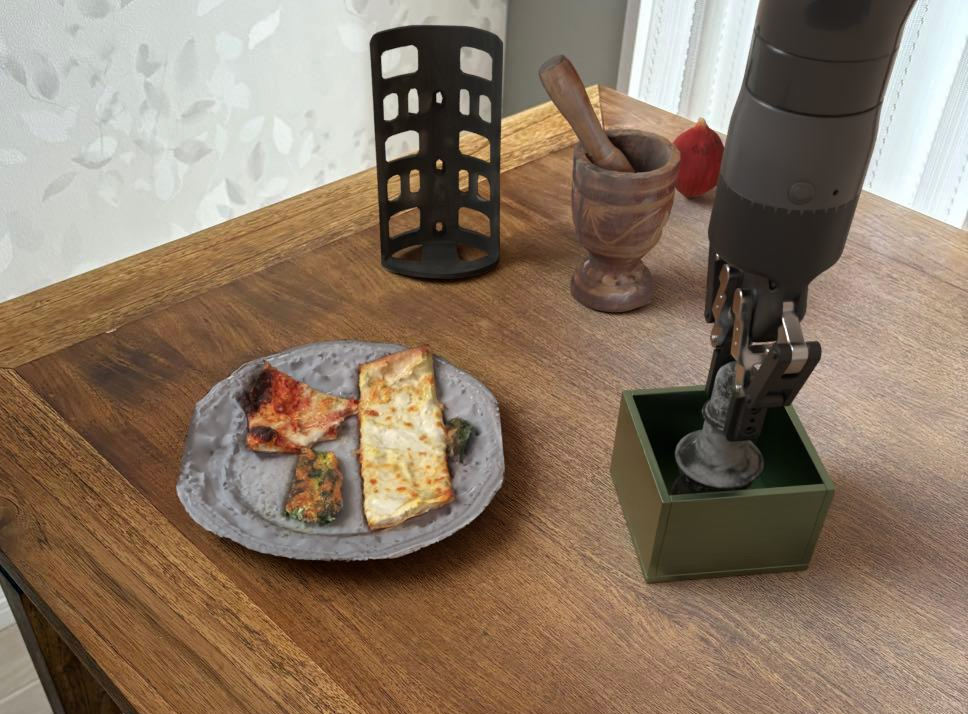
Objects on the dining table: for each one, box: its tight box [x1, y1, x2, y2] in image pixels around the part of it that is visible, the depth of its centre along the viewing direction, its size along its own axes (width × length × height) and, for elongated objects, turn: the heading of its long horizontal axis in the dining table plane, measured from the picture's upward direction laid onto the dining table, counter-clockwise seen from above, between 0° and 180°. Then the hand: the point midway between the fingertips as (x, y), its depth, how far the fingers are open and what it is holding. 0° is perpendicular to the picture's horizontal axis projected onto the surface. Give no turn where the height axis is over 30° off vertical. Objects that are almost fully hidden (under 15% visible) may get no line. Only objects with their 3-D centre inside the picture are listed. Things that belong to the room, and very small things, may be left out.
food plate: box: [175, 338, 506, 563], centre depth 82 cm, size 25×23×4 cm
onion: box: [672, 117, 725, 199], centre depth 107 cm, size 6×6×8 cm
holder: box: [369, 24, 504, 280], centre depth 96 cm, size 11×8×20 cm
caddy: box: [609, 384, 837, 584], centre depth 76 cm, size 11×11×8 cm
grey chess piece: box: [671, 361, 764, 495], centre depth 73 cm, size 6×6×12 cm
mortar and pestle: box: [537, 53, 681, 313], centre depth 91 cm, size 12×9×20 cm
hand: (730, 415), depth 72 cm, fingers closed on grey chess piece, 3 cm apart
